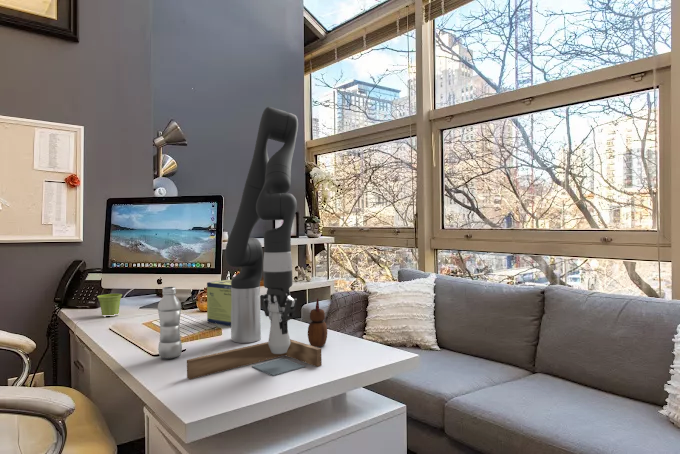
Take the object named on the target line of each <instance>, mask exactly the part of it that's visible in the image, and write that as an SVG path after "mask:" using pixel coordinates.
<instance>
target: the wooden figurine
mask: <svg viewBox="0 0 680 454" xmlns="http://www.w3.org/2000/svg"><path fill="white" fill-rule="evenodd" d="M319 303H320V302H319V298H317V299H316V302H315V308H313V309H311V311H310V313H309V319H310V320H311V322H310V323H309V324H308V327H307V339H308V342H309V345H311V346H314V347H318V348H320V347H323V346H325V345H326V343H327V338H328V326H327V323H326V321H324V320H325V319H326V318H325V317H326V315H325V314H326V313H325V310H324V309H321V308H320V304H319Z"/></svg>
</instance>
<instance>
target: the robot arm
mask: <svg viewBox="0 0 680 454" xmlns="http://www.w3.org/2000/svg"><path fill="white" fill-rule="evenodd" d="M298 131H299V119H298V116H297V115H296V114H293V113H291V112H288V111H285V110H282V109H278V108H275V107H271V106H267V107H266V108H264V110H263V112H262V114H261V118H260V122H259V125H258V130H257V135H256V136H257V137H256V140H255V146H254V151H253V154H252V155H253V156H252V159H251V163H250V166H249V169H248V173H247V177H246V180H245V183H244V188H243V189H242V195H241V200H240V204H239V207H238V211H237V214H236V218H235V221H234V224H233V226H232V228H231V232H230V234H229V237H228V239H227V243H226V246H225V252H224V253H225V255H224V256H225V261H226V263H227V264H228V265H229V266H230V267H233V268H239V267H241V269H240V272H239V273H238V274H236V276H234V277H232V279H230V280H231V299H232V310H231V326H230V335H231V336H230V339H231V341H232V342H234V343H239V344H240V343H241V344H246V343H247V344H249V343H253V342H258V341H260V340H261V338H262V334H261V332H262V330H261V329H262V328H261V321H262V320H261V319H262V318H261V303H262V308H263V310H264V311H263V312H264V316H265V317H268V319H269V321H271V320H272V313H273V312H271V311H270V306H271V304H272V303H275V306H276V308H277V313H278V318H279V325H280V330H281V329H282V334H287V332H288V333H289V328H288V322H289V321H290V320H293V319H294V316H295V311H296V308H297V306H298V305H297V304H298V299H297V298H293V297H291V292H290V288H291V287H292V286H293V259H292V251H291V250H292V249H291V248H292V246H291V245H292V244H291V243H292V241H291V239H292V237H291V236H292V228H293V223H294V220H295V217H296V213H297V207H298V203H297V202H298V201H297V199H296V197H295V196H294V194H292V193H291V192H289V191H290V189H291V179H292V163H293V157H294V152H295V148H296V141H297V137H298ZM269 139H270V140H273V141H276V142H278V143H284V144H283V145H282V147H280V148H279V149H278V151H276V152H274V154H273V155H272V156H271V157H270V158H269V154H268V153H269V152H268V140H269ZM288 192H289V193H288ZM260 219H261V220H264V221H283V222H282V224H281V225H280V226H279V227H276V228H275V227H274V228H270V229H267V230H266V231H264V233H263V246H262V243H261V241H260V240H259V239H257V238H255V237H251V234H252V231H253V229H254V227H255V226H256V224H257V223H258V221H260ZM262 277H263V287H264V288H265V289H267V290H266V293H264V294H261V281H262ZM280 307H285V309H282V310H281V309H280ZM283 312H284V314H283V317H282V313H283ZM287 329H288V330H287ZM284 330H285V331H284Z"/></svg>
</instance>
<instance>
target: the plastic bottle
mask: <svg viewBox="0 0 680 454" xmlns="http://www.w3.org/2000/svg"><path fill="white" fill-rule="evenodd" d="M161 294H162V298H161V299H160V300H159V302H158V304H157V313H158V319H159V329H160V330H159V343H158V346H157V347H158V348H157V350H158V355H159V357H160V358H161V359H174V358H179V357H180V355H181V354H182V351H183V343H182V340H181V327H180V322H181V320H180V319H181V312H182V311H181V310H182V304H181V301H180V299H179V298H178V297H177V296H176V294H177V287H176V286H165V287H162V293H161Z"/></svg>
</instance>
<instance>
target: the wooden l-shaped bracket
mask: <svg viewBox="0 0 680 454" xmlns="http://www.w3.org/2000/svg"><path fill="white" fill-rule="evenodd" d="M290 342H291V343H290V346H289V348H288V350H287V353H283V354H273V353H272V352H271V350H270V348H269V345H268V341H266V342H261V343H257V344H252V345H247V346H243V347H239V348H234V349H230V350H224V351H221V352H216V353H210V354H207V355H202V356H197V357H193V358H189V359H188V358H187V359H186V378H187V379H188V380H194V379H196V378H201V377H206V376H208V375H209V376H210V375H212V374H216V373H221V372H225V371H228V370H233V369H236V368H240V367H244V366H248V365H253V364H257V363H262V362H264V361H265V362H266V361H268V360H269V361H270V360H272V359H277V358H280V357H281V358H282V357H283V356H284V357H289V358H290V359H294V360H297V361H299V362H303V363H306V364H307V365H308V364H309V365H311V366H314V367H316V368H318V367H321V366H322V364H323V363H322V360H323V359H322V348H320V347H314V346H312V345H311V344H307V343H305V342H300V341H297V340H295V339H291V338H290Z"/></svg>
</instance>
